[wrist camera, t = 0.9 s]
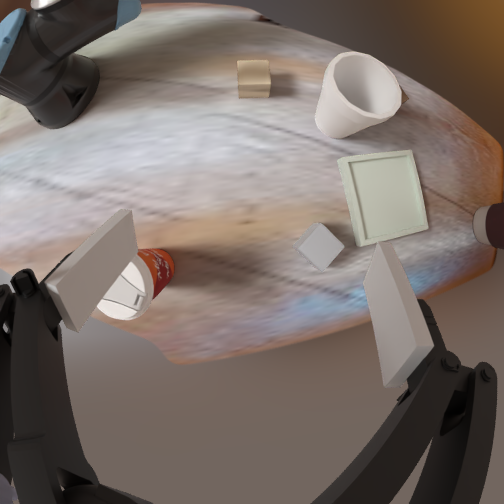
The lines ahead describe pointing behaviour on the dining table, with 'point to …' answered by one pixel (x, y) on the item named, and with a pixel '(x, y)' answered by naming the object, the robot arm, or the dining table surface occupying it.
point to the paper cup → (138, 284)
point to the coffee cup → (490, 225)
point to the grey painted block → (318, 246)
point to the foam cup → (356, 95)
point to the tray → (383, 195)
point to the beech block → (253, 78)
